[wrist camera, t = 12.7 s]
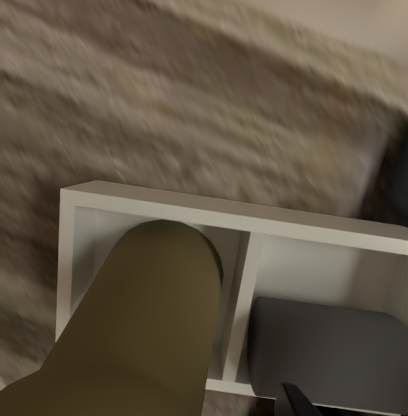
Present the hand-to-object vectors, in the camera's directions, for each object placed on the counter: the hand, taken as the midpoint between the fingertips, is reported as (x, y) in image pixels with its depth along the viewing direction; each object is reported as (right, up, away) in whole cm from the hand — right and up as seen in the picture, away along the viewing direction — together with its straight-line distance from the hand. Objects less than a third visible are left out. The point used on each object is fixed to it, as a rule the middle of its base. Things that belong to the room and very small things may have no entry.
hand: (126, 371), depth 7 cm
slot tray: (+4, +1, +7) cm, 8 cm away
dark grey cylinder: (+8, -2, +4) cm, 9 cm away
